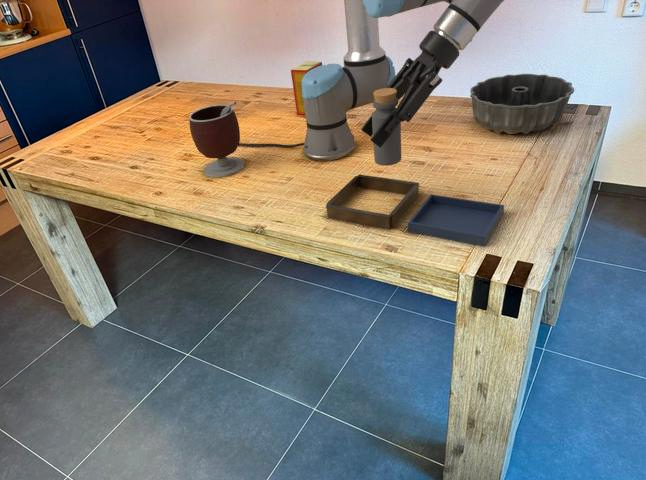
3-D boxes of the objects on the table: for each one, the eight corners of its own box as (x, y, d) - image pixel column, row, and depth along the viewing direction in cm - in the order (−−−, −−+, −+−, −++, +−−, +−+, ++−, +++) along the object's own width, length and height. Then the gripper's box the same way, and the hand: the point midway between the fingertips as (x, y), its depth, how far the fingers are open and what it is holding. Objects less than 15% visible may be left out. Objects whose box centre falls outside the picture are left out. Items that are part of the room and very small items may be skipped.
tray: (407, 231, 110) (407, 222, 109) (430, 202, 118) (430, 194, 117) (484, 246, 101) (485, 236, 100) (503, 214, 109) (504, 205, 108)
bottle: (401, 165, 108) (399, 94, 99) (373, 166, 110) (369, 97, 101) (401, 153, 113) (400, 85, 104) (375, 155, 114) (371, 88, 105)
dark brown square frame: (325, 217, 120) (324, 205, 118) (358, 185, 130) (357, 174, 129) (391, 230, 111) (390, 217, 109) (420, 195, 122) (420, 182, 120)
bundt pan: (590, 125, 137) (598, 88, 131) (505, 150, 133) (509, 113, 128) (525, 100, 158) (529, 67, 152) (450, 121, 154) (451, 88, 149)
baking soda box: (312, 116, 177) (306, 69, 168) (297, 115, 181) (290, 68, 171) (326, 106, 183) (321, 60, 173) (311, 105, 186) (306, 60, 177)
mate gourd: (193, 178, 151) (174, 112, 139) (215, 157, 161) (199, 94, 149) (239, 179, 145) (224, 110, 133) (258, 158, 155) (246, 92, 143)
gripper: (481, 62, 93) (398, 164, 102) (439, 43, 108) (369, 132, 117) (455, 37, 89) (371, 144, 98) (415, 21, 105) (345, 115, 114)
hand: (370, 138), depth 108 cm, fingers closed on bottle, 6 cm apart
